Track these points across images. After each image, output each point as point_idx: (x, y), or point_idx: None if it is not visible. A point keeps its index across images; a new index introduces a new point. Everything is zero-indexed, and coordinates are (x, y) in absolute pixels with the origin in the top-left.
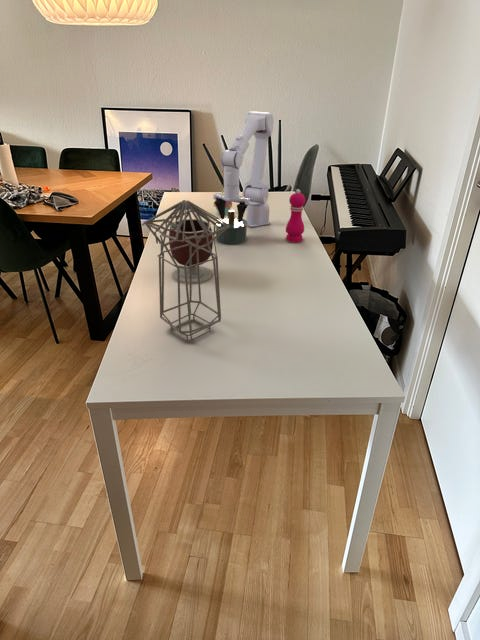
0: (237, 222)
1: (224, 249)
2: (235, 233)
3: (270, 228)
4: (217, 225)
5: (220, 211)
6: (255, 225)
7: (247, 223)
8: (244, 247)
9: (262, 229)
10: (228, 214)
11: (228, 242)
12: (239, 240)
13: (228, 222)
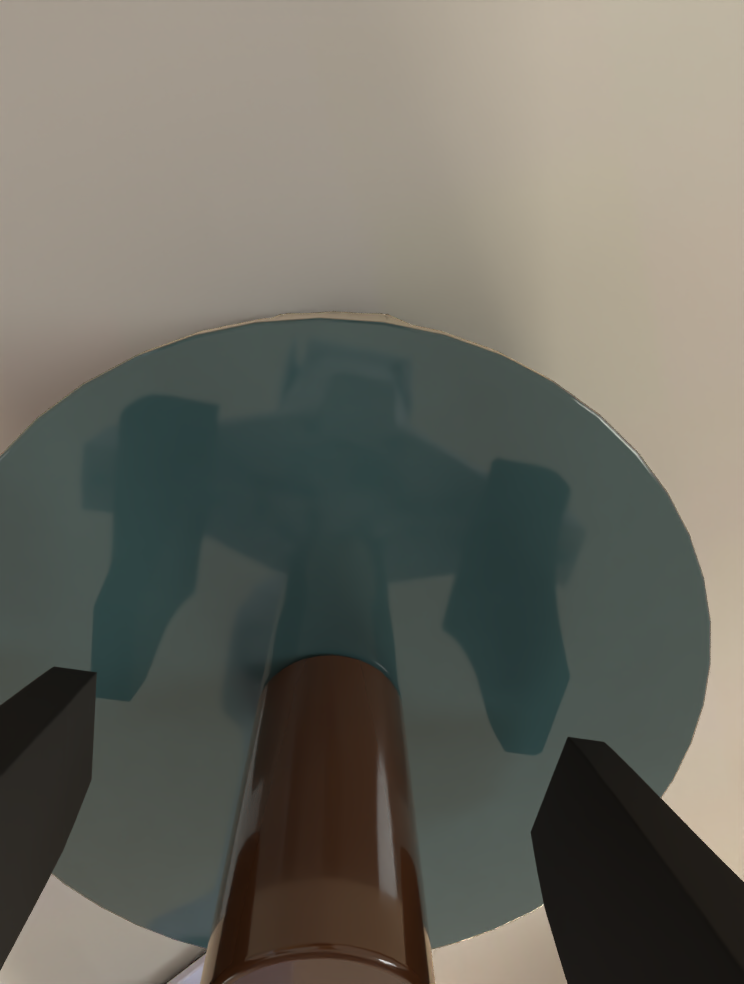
0: (188, 738)
1: (303, 62)
2: None
3: (12, 967)
4: (612, 429)
5: (726, 923)
6: (188, 979)
7: None
8: (18, 275)
9: (84, 923)
10: (401, 854)
11: (304, 313)
12: None
13: (386, 676)
